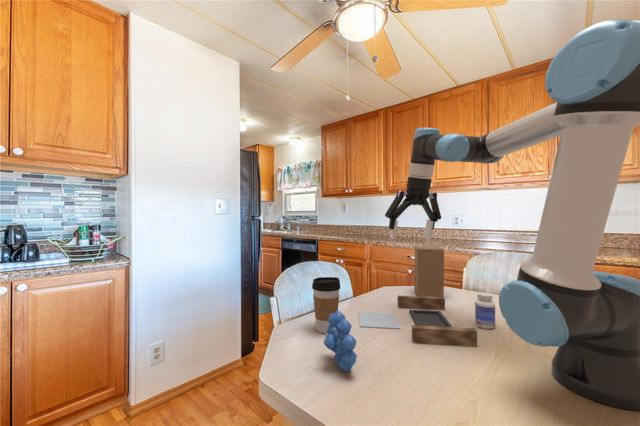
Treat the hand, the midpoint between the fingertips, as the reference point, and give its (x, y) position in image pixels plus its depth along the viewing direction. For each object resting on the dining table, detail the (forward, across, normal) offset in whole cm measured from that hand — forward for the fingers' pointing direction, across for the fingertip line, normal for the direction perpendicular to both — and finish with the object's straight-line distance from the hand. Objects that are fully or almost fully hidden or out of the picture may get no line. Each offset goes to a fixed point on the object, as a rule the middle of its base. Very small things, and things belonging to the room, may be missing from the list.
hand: (409, 238), depth 99 cm
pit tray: (+22, -1, +16) cm, 28 cm away
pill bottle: (+21, -16, +22) cm, 34 cm away
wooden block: (+28, -19, -8) cm, 34 cm away
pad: (+24, +13, +10) cm, 29 cm away
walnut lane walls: (+22, -1, +16) cm, 28 cm away
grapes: (+20, +35, +32) cm, 51 cm away
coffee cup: (+24, +31, +12) cm, 42 cm away
